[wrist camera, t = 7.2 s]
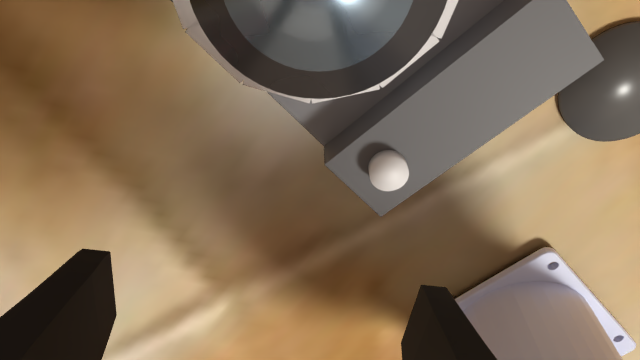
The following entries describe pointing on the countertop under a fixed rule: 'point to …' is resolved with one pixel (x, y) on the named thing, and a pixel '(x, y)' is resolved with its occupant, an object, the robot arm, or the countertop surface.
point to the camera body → (439, 93)
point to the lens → (318, 40)
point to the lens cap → (607, 89)
